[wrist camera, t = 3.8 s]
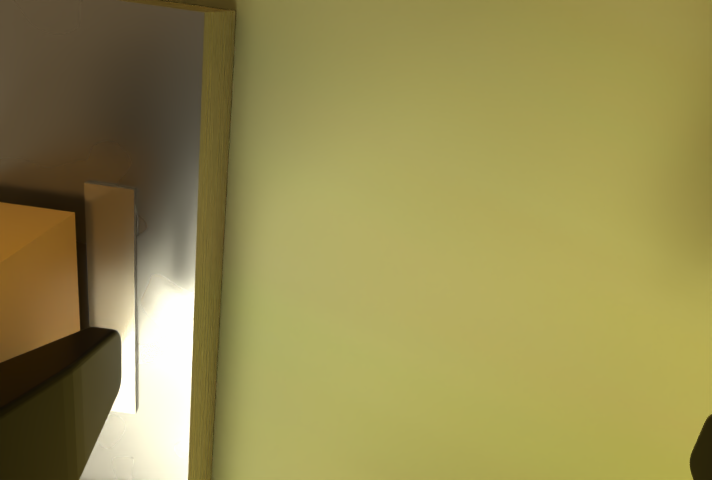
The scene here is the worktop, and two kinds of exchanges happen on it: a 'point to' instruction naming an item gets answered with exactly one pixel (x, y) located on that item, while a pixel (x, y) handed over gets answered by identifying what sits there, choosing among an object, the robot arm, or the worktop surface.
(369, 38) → the worktop surface
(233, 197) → the worktop surface
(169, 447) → the breaker panel
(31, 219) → the amber toggle
